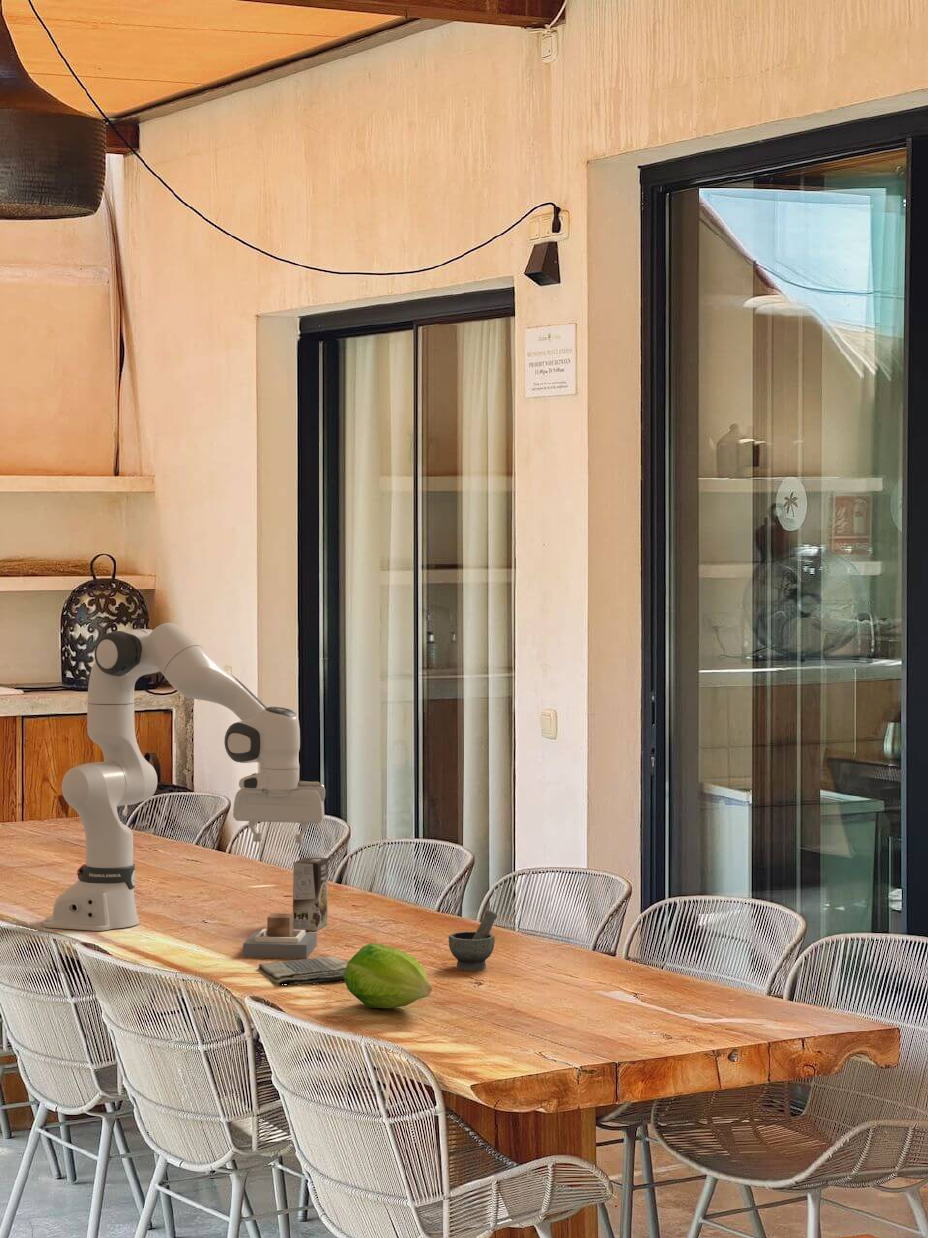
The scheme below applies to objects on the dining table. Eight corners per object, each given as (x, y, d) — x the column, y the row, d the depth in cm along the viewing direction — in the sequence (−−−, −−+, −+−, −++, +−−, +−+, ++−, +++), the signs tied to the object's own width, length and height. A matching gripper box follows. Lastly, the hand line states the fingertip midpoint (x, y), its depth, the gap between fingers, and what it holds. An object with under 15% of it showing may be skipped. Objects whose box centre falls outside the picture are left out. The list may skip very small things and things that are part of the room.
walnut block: (267, 940, 399) (267, 917, 399) (271, 935, 404) (271, 913, 404) (289, 940, 399) (289, 918, 399) (293, 936, 404) (293, 913, 404)
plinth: (243, 957, 395) (243, 938, 395) (255, 944, 409) (255, 926, 409) (306, 958, 394) (306, 940, 394) (316, 946, 408) (316, 928, 408)
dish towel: (255, 971, 383) (256, 956, 383) (336, 966, 390) (336, 951, 390) (278, 990, 366) (278, 974, 366) (362, 984, 372) (362, 968, 372)
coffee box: (317, 931, 425) (318, 863, 425) (291, 930, 426) (292, 862, 426) (328, 924, 434) (329, 857, 434) (302, 923, 435) (303, 856, 435)
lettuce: (397, 1026, 335) (398, 962, 335) (331, 1006, 350) (331, 945, 350) (453, 1015, 344) (453, 952, 344) (386, 996, 359) (387, 936, 359)
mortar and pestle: (464, 974, 380) (464, 917, 380) (440, 966, 388) (440, 910, 388) (507, 968, 386) (508, 913, 386) (483, 961, 394) (484, 906, 394)
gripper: (327, 780, 405) (326, 841, 405) (237, 777, 406) (236, 838, 407) (323, 783, 398) (322, 845, 399) (232, 780, 400) (230, 842, 400)
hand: (278, 842), depth 403 cm, fingers open, 8 cm apart
